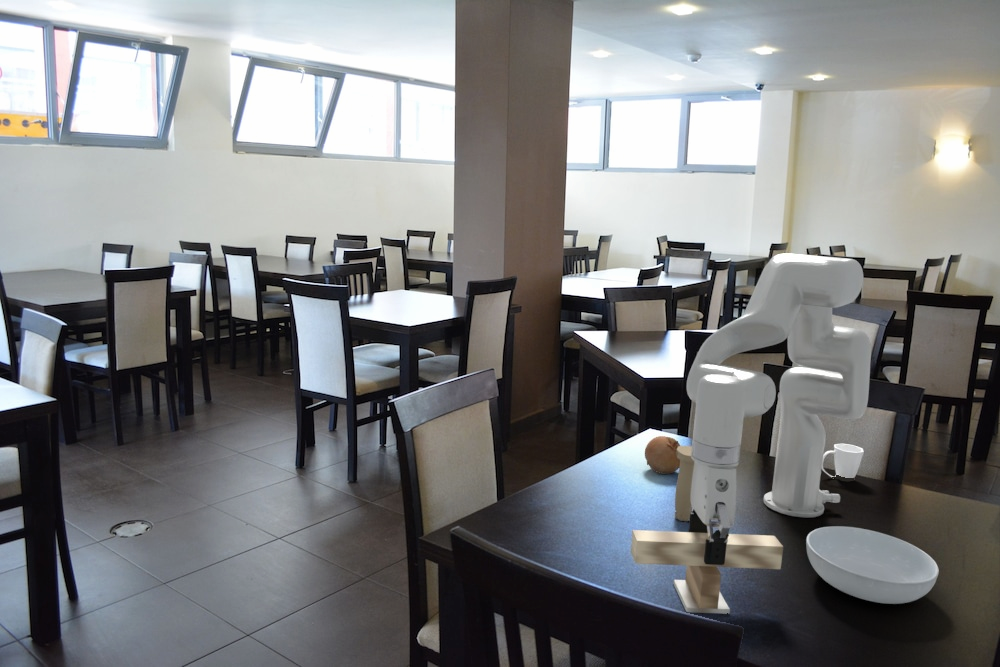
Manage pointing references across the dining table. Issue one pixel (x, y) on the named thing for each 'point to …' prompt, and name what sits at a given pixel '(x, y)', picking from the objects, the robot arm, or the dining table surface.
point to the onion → (662, 455)
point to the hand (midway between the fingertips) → (705, 549)
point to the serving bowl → (871, 564)
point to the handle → (684, 483)
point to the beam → (692, 549)
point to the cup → (845, 459)
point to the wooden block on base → (701, 590)
